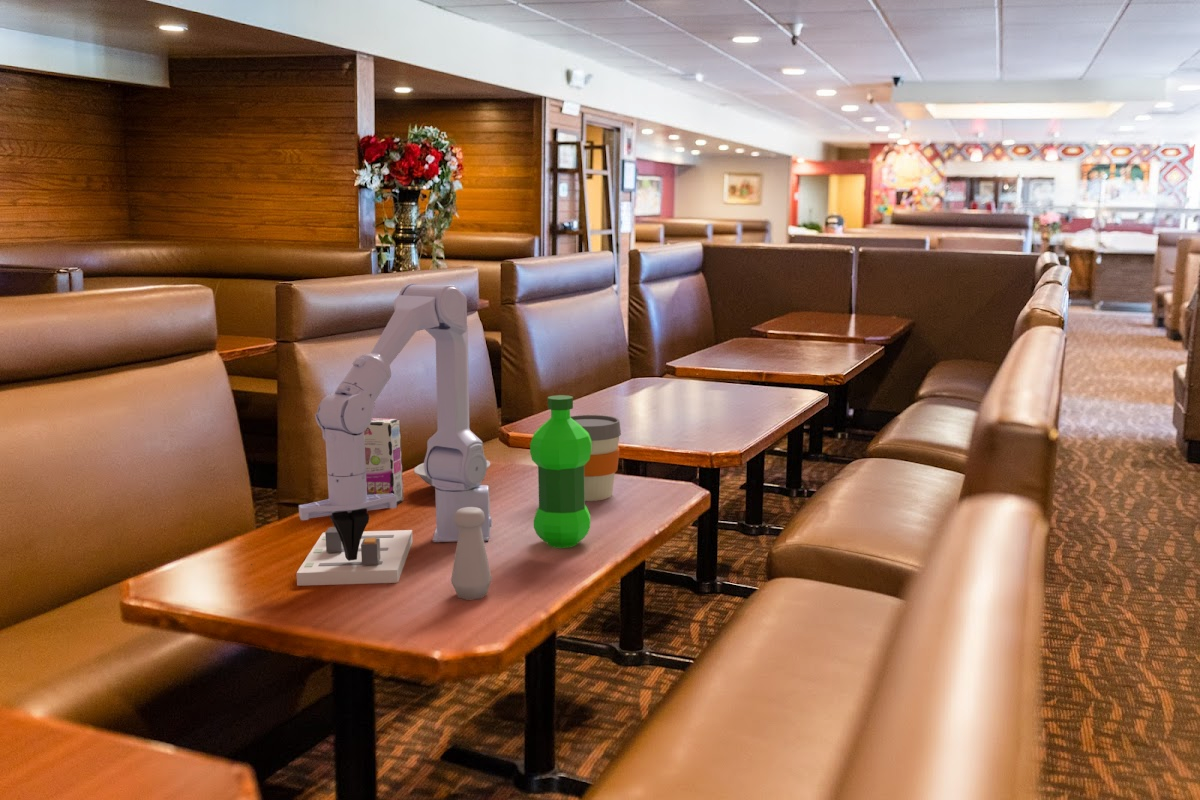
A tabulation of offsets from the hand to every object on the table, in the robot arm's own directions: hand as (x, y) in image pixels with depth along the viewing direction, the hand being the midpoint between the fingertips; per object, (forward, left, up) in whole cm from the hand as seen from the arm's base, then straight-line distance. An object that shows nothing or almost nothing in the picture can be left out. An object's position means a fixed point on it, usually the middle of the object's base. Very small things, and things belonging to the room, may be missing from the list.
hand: (351, 558), depth 165 cm
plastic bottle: (-33, -14, -3) cm, 36 cm away
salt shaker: (-19, +10, -3) cm, 22 cm away
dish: (-12, -52, -3) cm, 53 cm away
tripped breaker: (-3, 0, -1) cm, 3 cm away
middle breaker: (+4, -7, -1) cm, 8 cm away
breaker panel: (0, -7, -3) cm, 8 cm away
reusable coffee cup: (-39, -45, -3) cm, 60 cm away
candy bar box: (+3, -44, -3) cm, 44 cm away
